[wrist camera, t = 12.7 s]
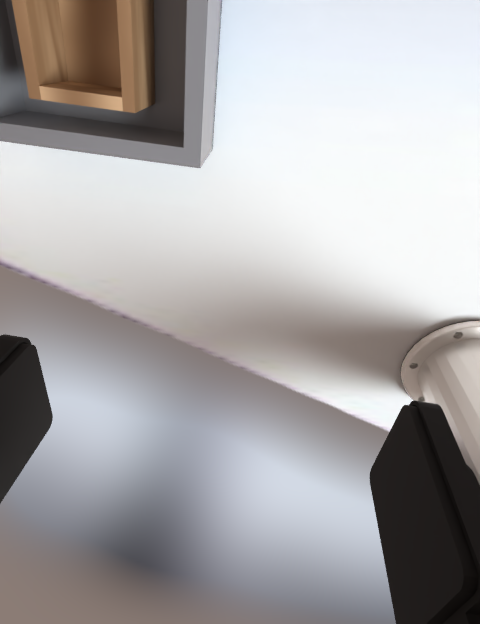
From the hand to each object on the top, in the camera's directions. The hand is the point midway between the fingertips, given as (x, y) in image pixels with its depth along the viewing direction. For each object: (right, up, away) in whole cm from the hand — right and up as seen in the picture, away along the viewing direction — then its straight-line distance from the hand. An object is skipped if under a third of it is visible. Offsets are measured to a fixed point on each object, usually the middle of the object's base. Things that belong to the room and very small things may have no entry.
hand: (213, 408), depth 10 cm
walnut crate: (-9, +23, +16) cm, 29 cm away
